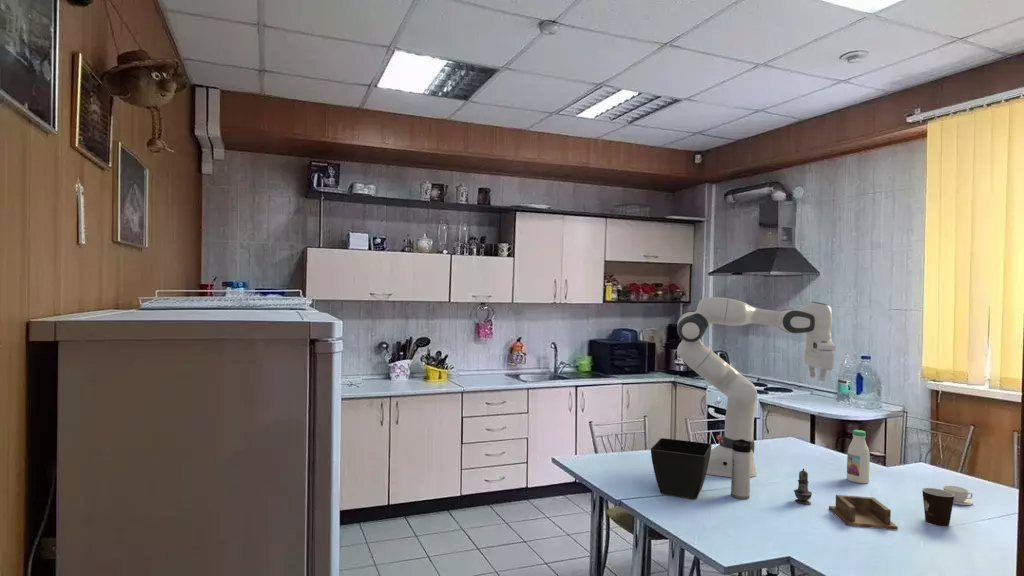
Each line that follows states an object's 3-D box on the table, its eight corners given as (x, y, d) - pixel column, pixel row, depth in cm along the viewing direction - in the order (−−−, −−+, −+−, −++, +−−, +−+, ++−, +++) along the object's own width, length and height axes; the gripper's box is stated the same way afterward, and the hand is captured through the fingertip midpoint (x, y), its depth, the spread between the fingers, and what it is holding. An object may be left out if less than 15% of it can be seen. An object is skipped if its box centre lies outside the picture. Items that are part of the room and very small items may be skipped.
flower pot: (648, 495, 215) (650, 448, 215) (659, 480, 232) (660, 437, 232) (703, 504, 207) (705, 455, 207) (710, 489, 224) (712, 443, 224)
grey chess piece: (810, 500, 214) (811, 467, 214) (813, 506, 209) (814, 471, 209) (792, 498, 216) (793, 465, 216) (794, 503, 210) (795, 469, 210)
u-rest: (846, 525, 191) (847, 508, 191) (829, 508, 206) (829, 492, 206) (897, 529, 189) (898, 512, 189) (875, 512, 204) (876, 496, 204)
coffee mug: (954, 530, 191) (955, 498, 191) (921, 523, 195) (922, 493, 195) (951, 518, 200) (952, 489, 200) (920, 513, 205) (921, 483, 205)
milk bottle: (863, 478, 243) (864, 429, 243) (872, 484, 235) (874, 433, 235) (843, 477, 244) (844, 428, 244) (852, 483, 236) (853, 432, 236)
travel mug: (749, 495, 218) (751, 440, 218) (748, 500, 212) (750, 444, 212) (731, 492, 221) (733, 438, 221) (730, 497, 215) (731, 441, 215)
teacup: (944, 503, 216) (944, 490, 216) (935, 495, 225) (935, 482, 225) (977, 508, 212) (977, 494, 213) (966, 499, 222) (967, 486, 222)
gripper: (800, 341, 245) (799, 374, 245) (819, 345, 225) (818, 382, 224) (816, 341, 244) (815, 375, 244) (837, 346, 224) (835, 383, 224)
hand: (816, 379), depth 234 cm, fingers open, 8 cm apart
